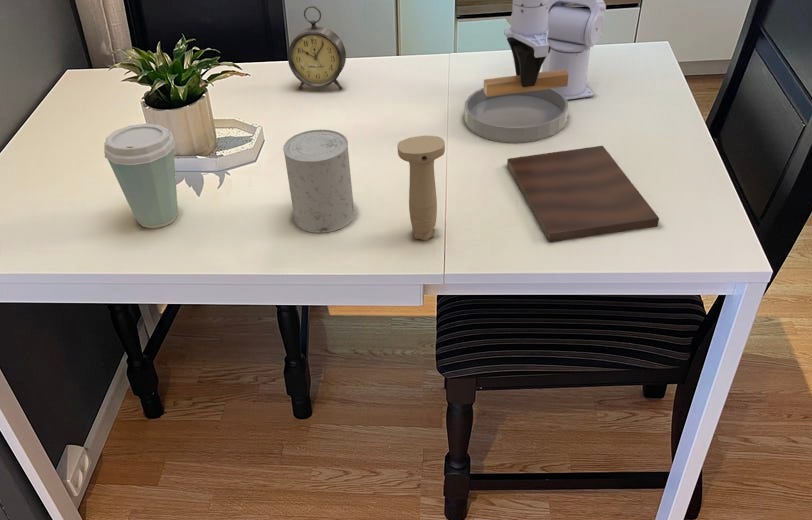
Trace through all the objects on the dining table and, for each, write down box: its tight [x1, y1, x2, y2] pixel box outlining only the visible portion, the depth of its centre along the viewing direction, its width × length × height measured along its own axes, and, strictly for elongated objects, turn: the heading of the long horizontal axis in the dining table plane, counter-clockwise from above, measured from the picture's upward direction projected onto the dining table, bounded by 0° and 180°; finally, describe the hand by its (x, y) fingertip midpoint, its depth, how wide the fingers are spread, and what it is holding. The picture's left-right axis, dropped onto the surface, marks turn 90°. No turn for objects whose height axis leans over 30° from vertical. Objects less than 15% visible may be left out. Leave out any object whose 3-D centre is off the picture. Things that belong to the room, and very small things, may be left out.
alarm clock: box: [287, 5, 347, 90], centre depth 154 cm, size 11×5×16 cm, turn 77°
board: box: [506, 145, 660, 243], centre depth 121 cm, size 22×16×2 cm
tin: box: [464, 87, 569, 144], centre depth 141 cm, size 18×18×3 cm
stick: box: [483, 69, 569, 97], centre depth 134 cm, size 2×14×2 cm, turn 97°
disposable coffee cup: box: [103, 123, 179, 229], centre depth 122 cm, size 11×11×15 cm
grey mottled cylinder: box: [282, 129, 356, 234], centre depth 119 cm, size 10×10×12 cm
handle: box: [397, 135, 446, 242], centre depth 112 cm, size 5×6×15 cm
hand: (525, 82), depth 134 cm, fingers closed on stick, 2 cm apart
